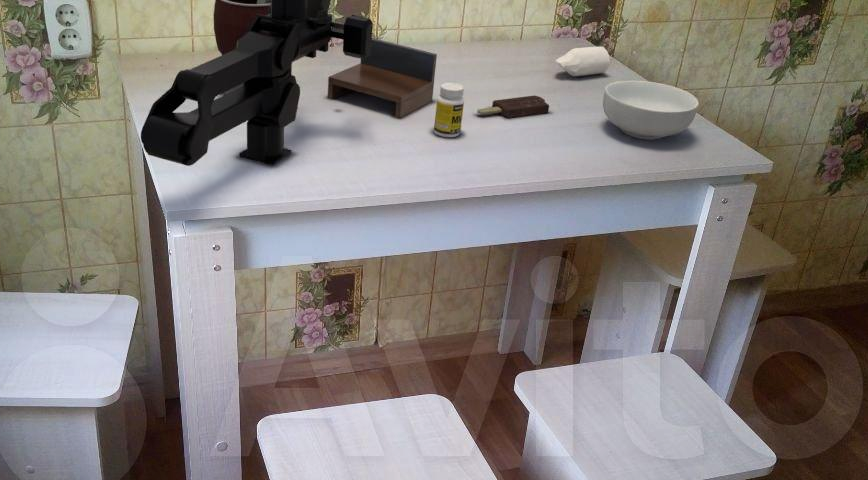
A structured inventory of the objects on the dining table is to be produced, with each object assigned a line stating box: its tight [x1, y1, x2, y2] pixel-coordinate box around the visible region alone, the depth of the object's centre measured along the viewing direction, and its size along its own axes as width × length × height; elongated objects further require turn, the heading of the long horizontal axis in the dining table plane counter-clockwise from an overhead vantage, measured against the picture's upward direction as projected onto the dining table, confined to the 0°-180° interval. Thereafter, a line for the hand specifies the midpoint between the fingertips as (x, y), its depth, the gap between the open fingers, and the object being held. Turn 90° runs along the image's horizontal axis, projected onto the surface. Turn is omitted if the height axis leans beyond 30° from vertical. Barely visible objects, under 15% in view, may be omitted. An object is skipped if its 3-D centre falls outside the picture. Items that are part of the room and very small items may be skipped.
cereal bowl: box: [602, 79, 699, 141], centre depth 179 cm, size 17×17×7 cm
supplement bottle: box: [433, 82, 465, 138], centre depth 172 cm, size 5×5×8 cm
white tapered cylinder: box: [555, 46, 611, 77], centre depth 204 cm, size 6×12×6 cm, turn 119°
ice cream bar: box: [476, 95, 550, 119], centre depth 185 cm, size 5×2×15 cm
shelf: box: [327, 37, 438, 119], centre depth 184 cm, size 12×16×9 cm
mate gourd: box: [213, 0, 271, 95], centre depth 182 cm, size 16×14×20 cm
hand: (343, 18), depth 171 cm, fingers open, 9 cm apart
